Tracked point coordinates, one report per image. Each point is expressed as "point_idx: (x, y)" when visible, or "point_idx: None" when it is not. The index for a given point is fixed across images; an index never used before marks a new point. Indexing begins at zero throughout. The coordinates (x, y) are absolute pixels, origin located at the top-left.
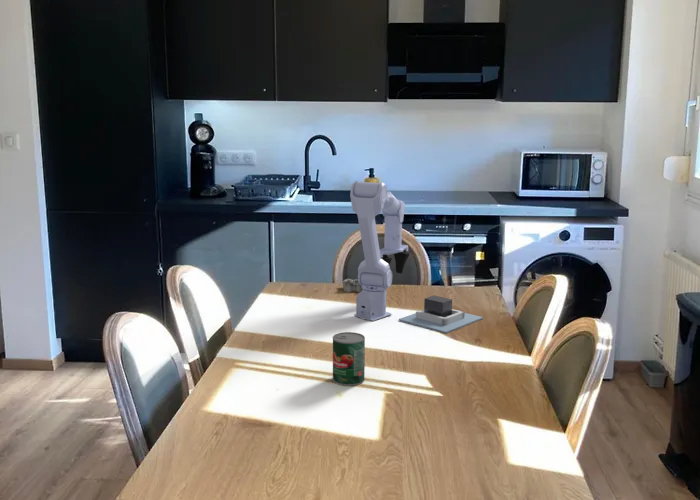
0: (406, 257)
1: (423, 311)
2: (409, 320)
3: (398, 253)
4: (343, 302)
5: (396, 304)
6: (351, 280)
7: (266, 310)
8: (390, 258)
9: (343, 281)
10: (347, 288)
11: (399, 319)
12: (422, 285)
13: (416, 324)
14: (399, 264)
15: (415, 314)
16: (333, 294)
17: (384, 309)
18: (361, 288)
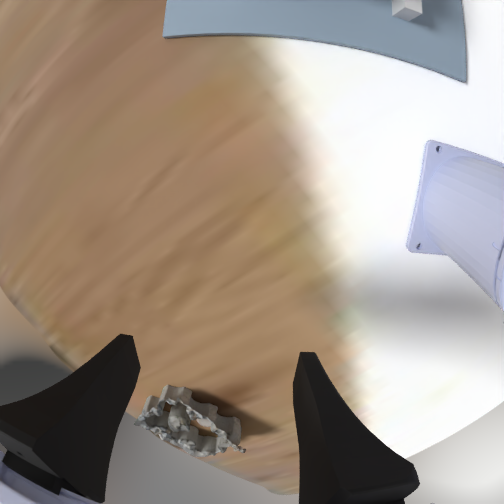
0: (35, 410)
1: (298, 26)
2: (452, 34)
3: (82, 485)
4: (358, 376)
5: (256, 219)
6: (188, 447)
7: (475, 411)
8: (378, 488)
9: (214, 454)
10: (238, 430)
11: (465, 77)
12: (4, 289)
13: (459, 2)
14: (109, 399)
15: (370, 37)
16: (292, 428)
17: (480, 161)
18: (198, 410)
